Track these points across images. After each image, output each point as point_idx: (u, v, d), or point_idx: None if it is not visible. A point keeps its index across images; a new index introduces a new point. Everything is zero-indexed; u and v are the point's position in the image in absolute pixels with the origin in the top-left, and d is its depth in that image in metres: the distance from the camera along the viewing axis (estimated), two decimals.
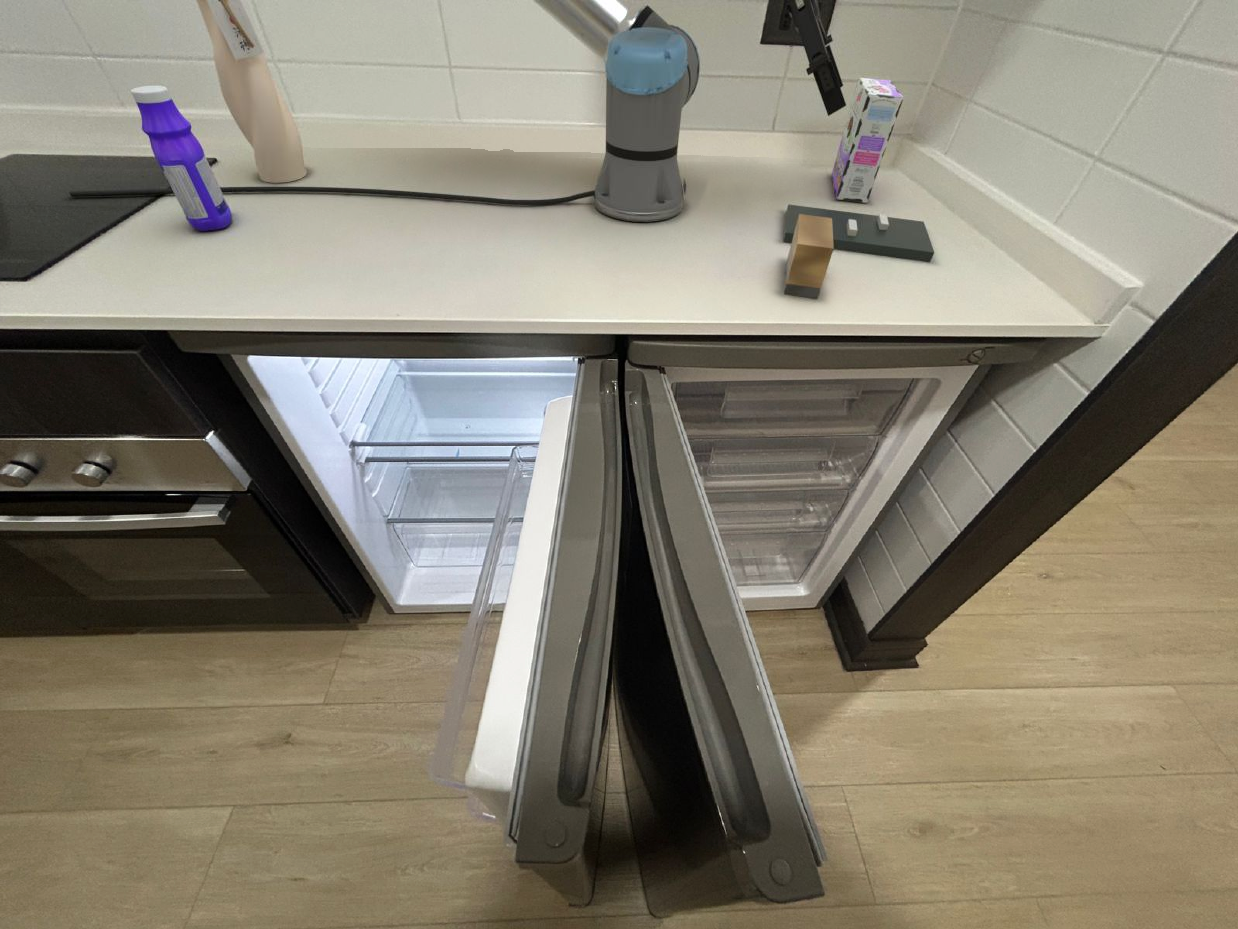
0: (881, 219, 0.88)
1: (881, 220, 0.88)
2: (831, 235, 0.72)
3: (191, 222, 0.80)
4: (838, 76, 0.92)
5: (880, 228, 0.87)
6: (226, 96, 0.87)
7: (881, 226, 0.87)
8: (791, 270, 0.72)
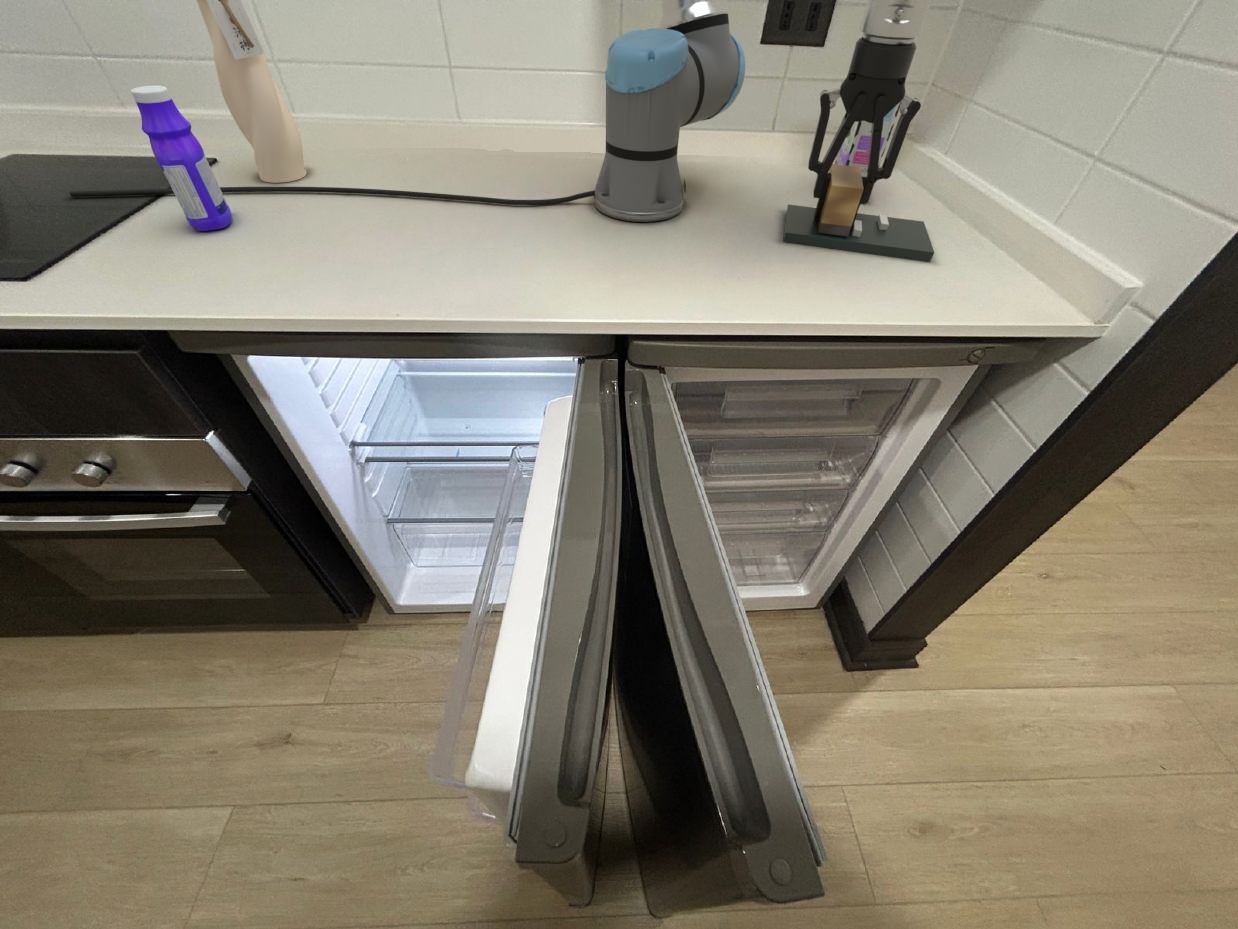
0: (881, 219, 0.88)
1: (881, 220, 0.88)
2: (860, 179, 0.82)
3: (191, 222, 0.80)
4: None
5: (880, 228, 0.87)
6: (226, 96, 0.87)
7: (881, 226, 0.87)
8: (825, 210, 0.83)
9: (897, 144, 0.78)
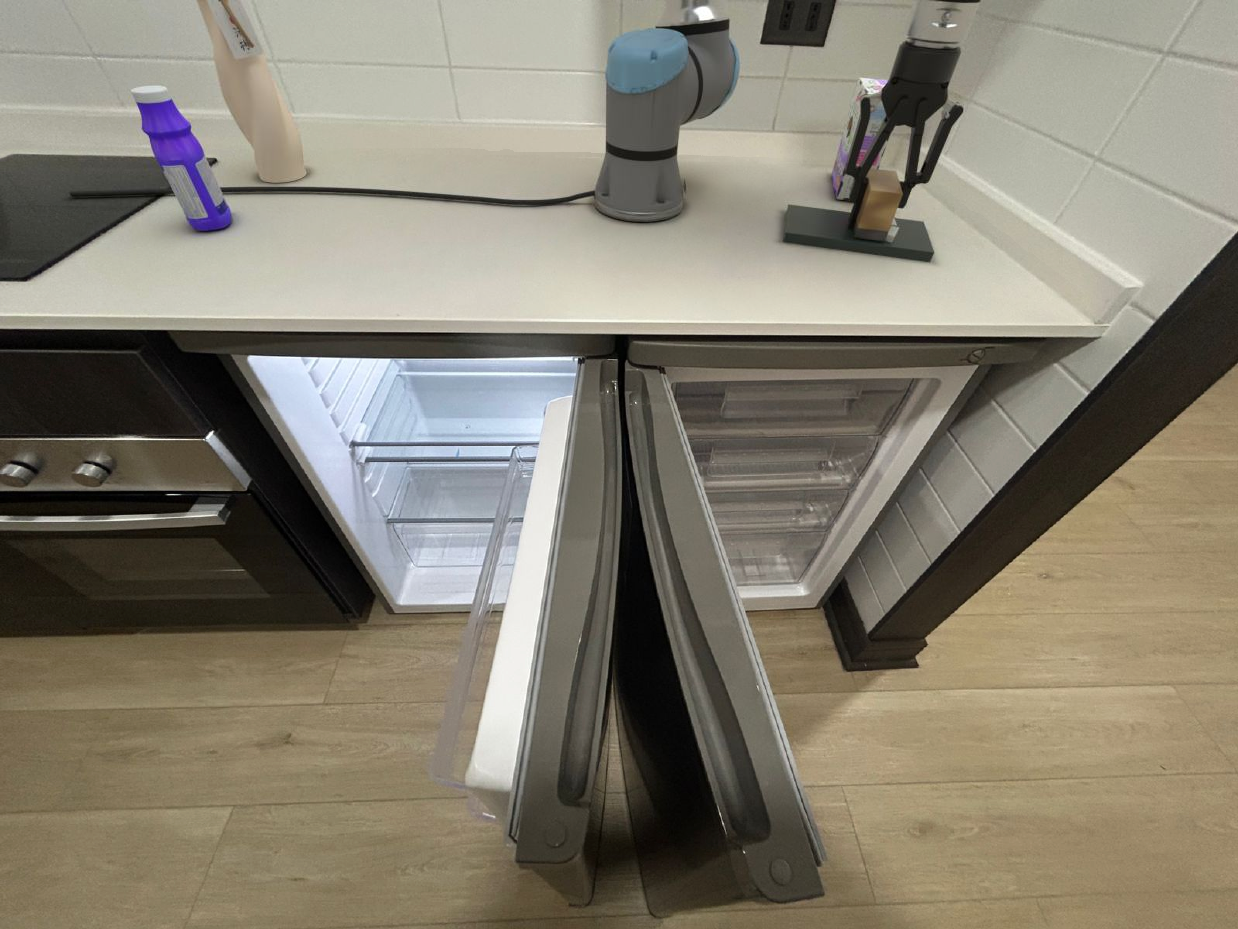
0: None
1: None
2: (898, 184, 0.82)
3: (191, 222, 0.80)
4: None
5: None
6: (226, 96, 0.87)
7: None
8: (863, 215, 0.82)
9: (937, 149, 0.77)
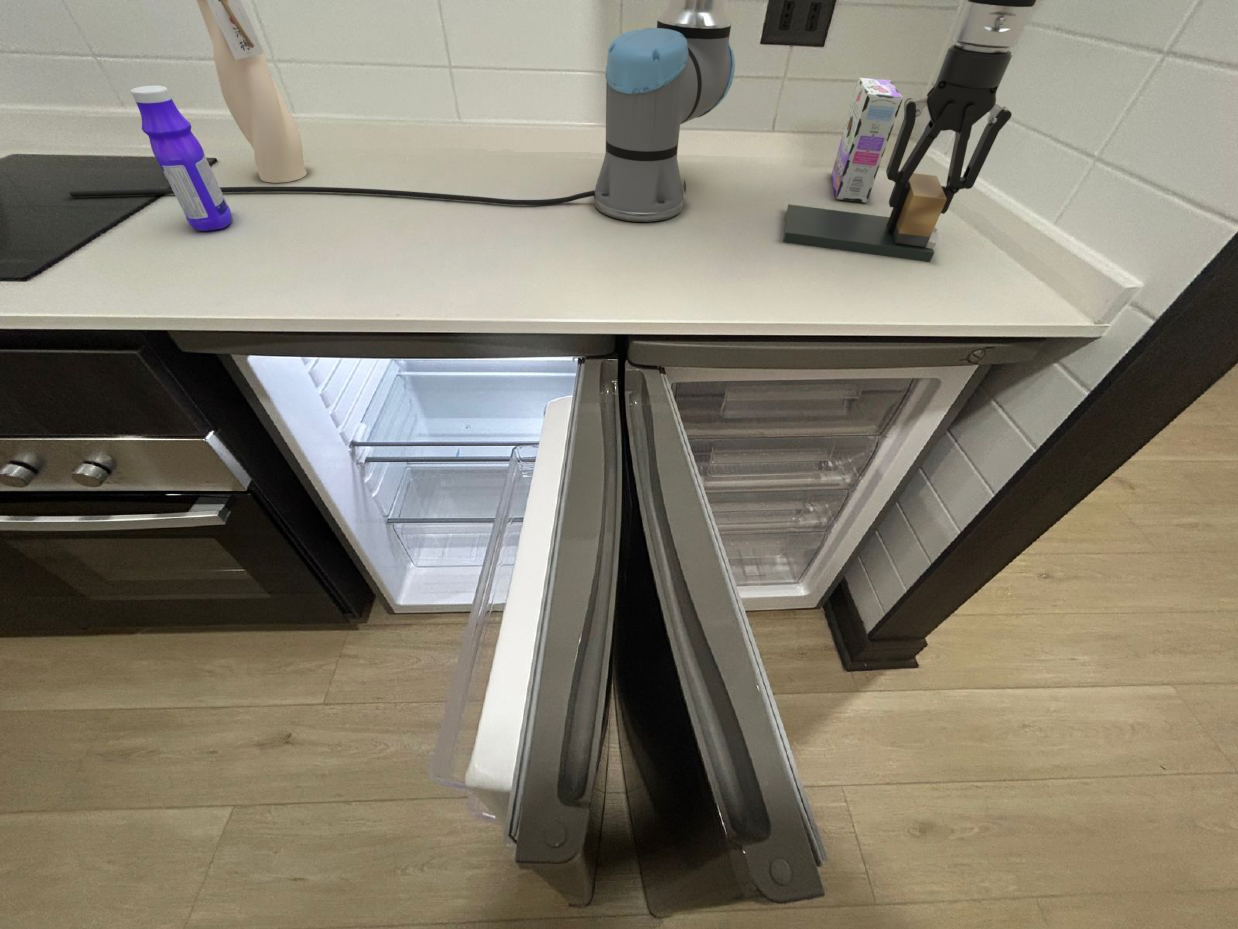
0: None
1: None
2: (941, 189, 0.81)
3: (191, 222, 0.80)
4: None
5: None
6: (226, 96, 0.87)
7: None
8: (904, 220, 0.81)
9: (983, 154, 0.77)
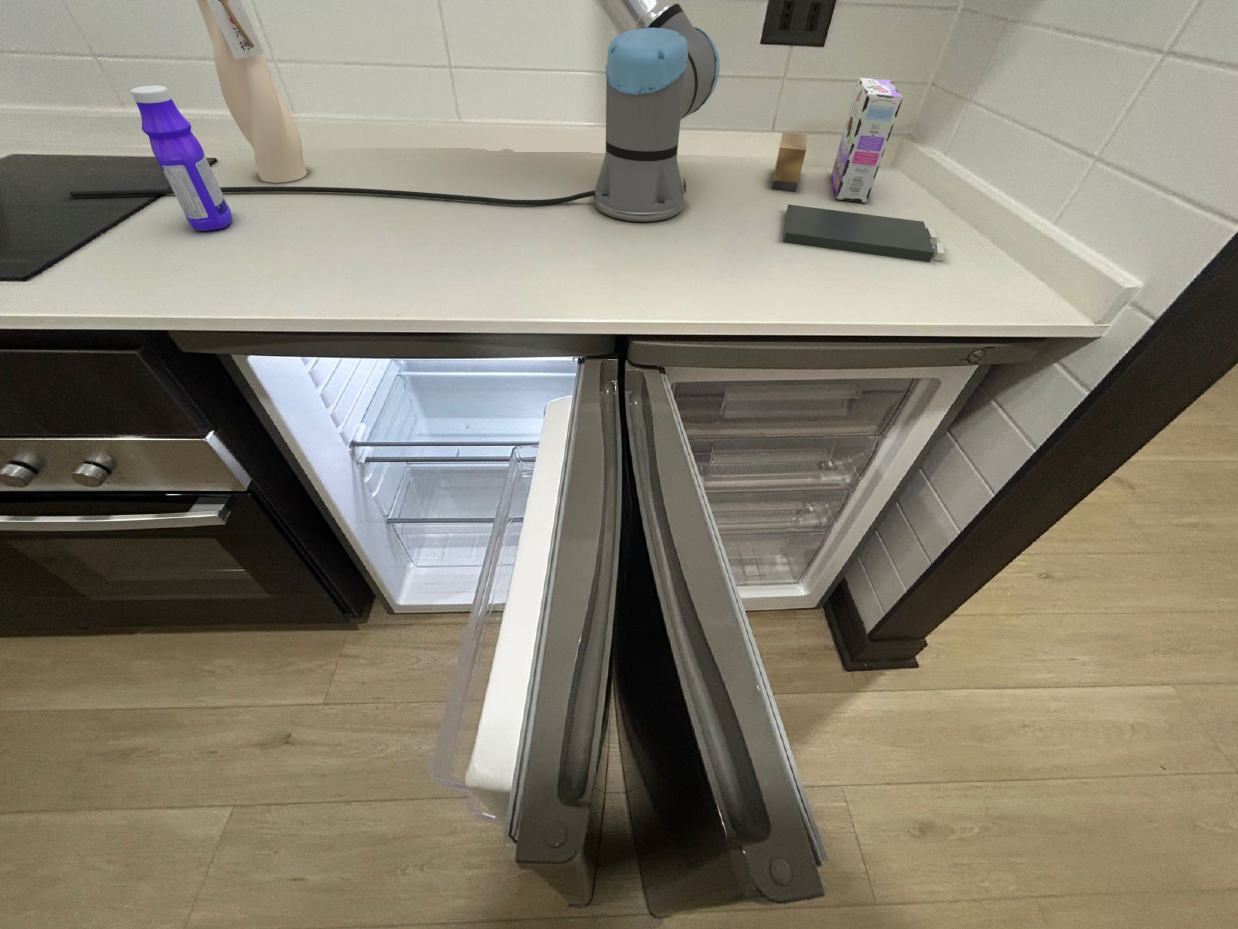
0: (935, 234, 0.88)
1: (935, 235, 0.88)
2: (805, 143, 1.00)
3: (191, 222, 0.80)
4: None
5: (932, 237, 0.87)
6: (226, 96, 0.87)
7: (934, 238, 0.87)
8: (776, 169, 1.00)
9: None
